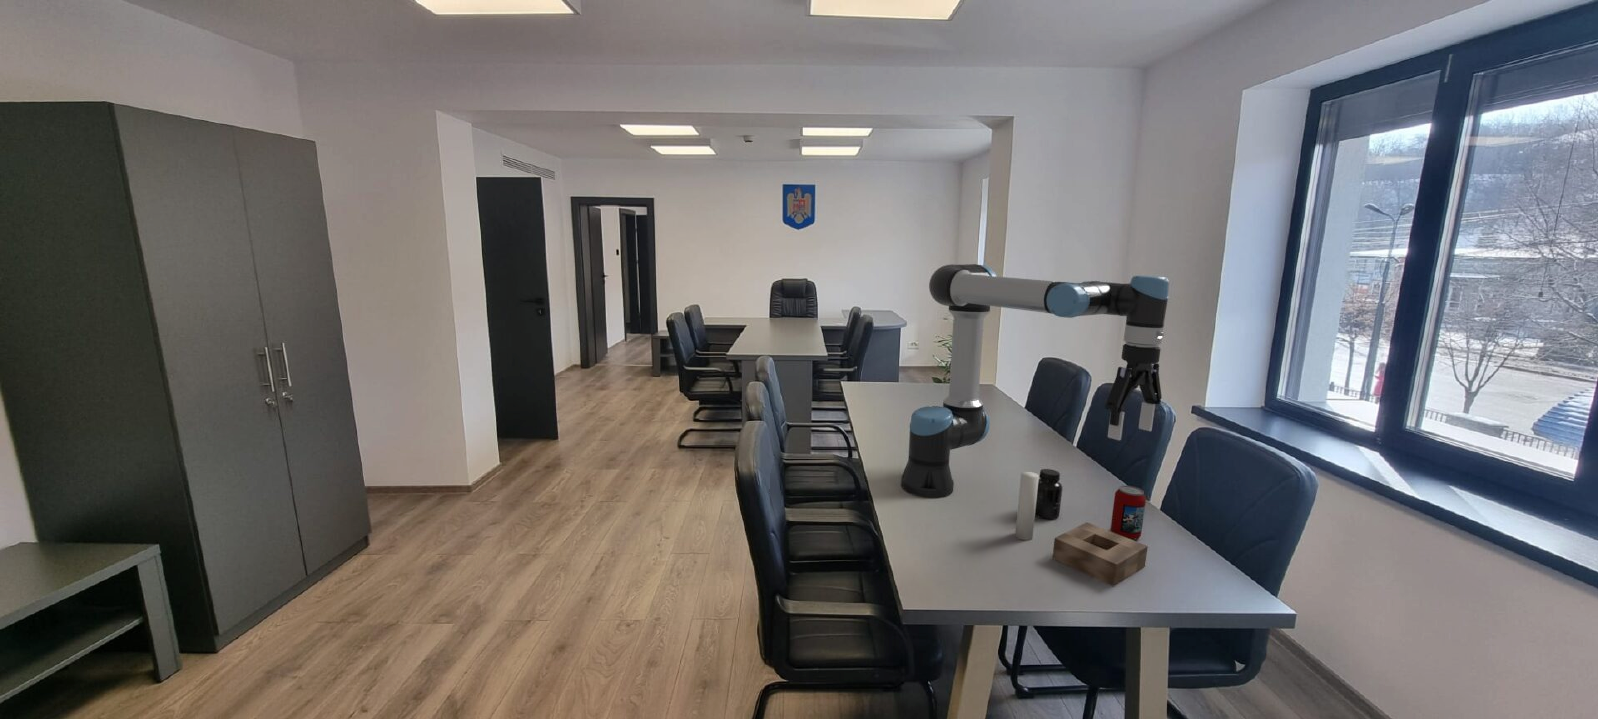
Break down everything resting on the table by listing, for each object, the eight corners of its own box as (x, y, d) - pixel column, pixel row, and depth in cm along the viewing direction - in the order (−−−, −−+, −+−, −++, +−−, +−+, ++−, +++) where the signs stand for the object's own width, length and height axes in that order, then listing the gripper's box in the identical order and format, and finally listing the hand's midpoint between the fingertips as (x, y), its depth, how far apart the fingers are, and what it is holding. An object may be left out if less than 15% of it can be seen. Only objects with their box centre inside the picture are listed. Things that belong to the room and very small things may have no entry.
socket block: (1052, 558, 138) (1054, 537, 137) (1084, 541, 146) (1086, 522, 145) (1113, 586, 127) (1116, 564, 126) (1144, 566, 135) (1147, 545, 134)
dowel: (1011, 535, 148) (1017, 473, 145) (1021, 530, 151) (1027, 470, 148) (1026, 541, 145) (1032, 479, 142) (1035, 537, 148) (1042, 475, 145)
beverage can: (1129, 543, 146) (1135, 497, 143) (1104, 531, 151) (1109, 486, 149) (1146, 538, 149) (1153, 492, 146) (1121, 526, 154) (1127, 482, 152)
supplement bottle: (1061, 521, 157) (1066, 477, 154) (1034, 518, 158) (1038, 475, 156) (1056, 510, 163) (1060, 468, 161) (1029, 507, 165) (1034, 466, 162)
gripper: (1129, 351, 127) (1116, 447, 131) (1186, 343, 140) (1173, 430, 144) (1095, 346, 133) (1084, 437, 137) (1152, 338, 147) (1141, 422, 151)
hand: (1129, 434), depth 141 cm, fingers open, 13 cm apart
